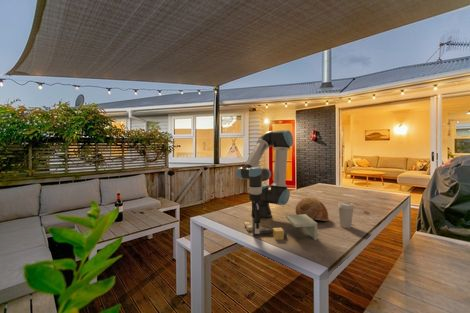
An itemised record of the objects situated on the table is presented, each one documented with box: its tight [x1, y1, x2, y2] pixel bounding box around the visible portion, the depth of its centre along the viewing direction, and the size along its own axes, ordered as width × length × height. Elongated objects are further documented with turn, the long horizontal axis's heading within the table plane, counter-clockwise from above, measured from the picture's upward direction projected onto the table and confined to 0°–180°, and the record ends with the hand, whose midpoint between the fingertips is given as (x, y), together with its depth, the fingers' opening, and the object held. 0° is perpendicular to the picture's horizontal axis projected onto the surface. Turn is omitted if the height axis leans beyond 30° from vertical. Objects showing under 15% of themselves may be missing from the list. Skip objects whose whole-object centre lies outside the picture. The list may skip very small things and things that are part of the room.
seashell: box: [295, 197, 329, 222], centre depth 161 cm, size 21×20×15 cm
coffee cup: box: [337, 201, 355, 229], centre depth 146 cm, size 10×10×15 cm
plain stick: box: [243, 221, 252, 232], centre depth 146 cm, size 10×3×3 cm, turn 13°
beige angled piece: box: [285, 214, 318, 241], centre depth 135 cm, size 16×13×10 cm
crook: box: [251, 217, 288, 240], centre depth 134 cm, size 10×18×10 cm, turn 96°
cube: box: [272, 227, 285, 241], centre depth 132 cm, size 5×5×5 cm
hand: (256, 230), depth 136 cm, fingers open, 7 cm apart
